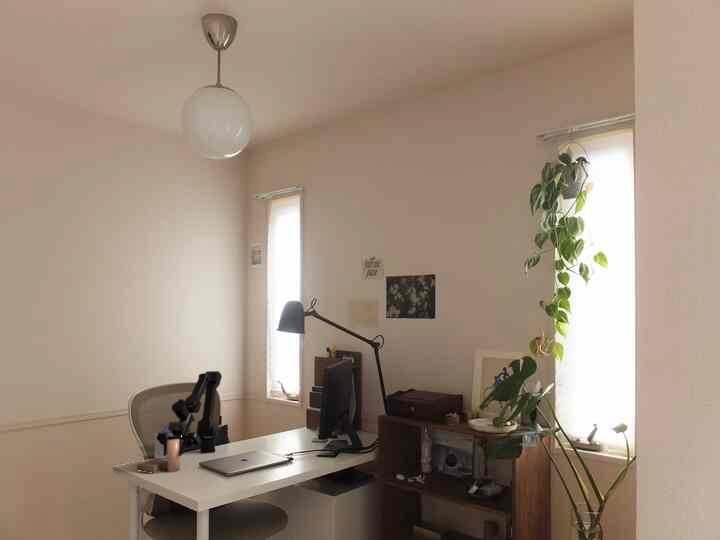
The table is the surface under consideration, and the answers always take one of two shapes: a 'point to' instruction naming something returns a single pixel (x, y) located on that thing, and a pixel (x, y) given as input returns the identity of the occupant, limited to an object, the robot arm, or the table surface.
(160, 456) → the ink cartridge box
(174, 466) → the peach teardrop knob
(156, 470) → the walnut plinth
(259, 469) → the table surface
